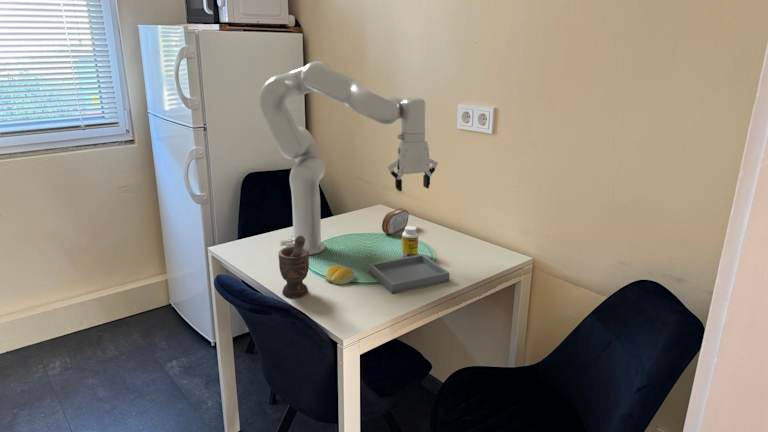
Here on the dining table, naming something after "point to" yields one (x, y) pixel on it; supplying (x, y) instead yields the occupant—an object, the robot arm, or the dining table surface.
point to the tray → (408, 273)
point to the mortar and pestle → (294, 268)
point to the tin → (395, 221)
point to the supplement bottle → (409, 242)
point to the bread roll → (339, 275)
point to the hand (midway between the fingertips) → (412, 188)
